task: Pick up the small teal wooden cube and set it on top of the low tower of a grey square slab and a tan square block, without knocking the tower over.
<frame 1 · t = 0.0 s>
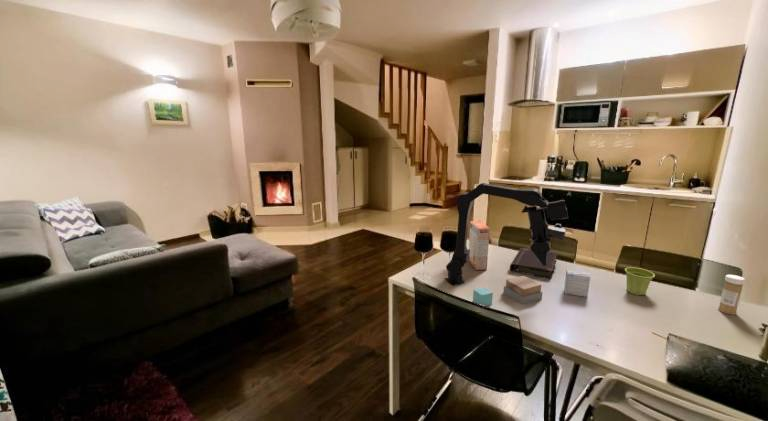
hand: (545, 261, 121), 15 cm above the table, tool pointing down, fingers open, 9 cm apart
diary: (534, 267, 156), on the table
teal cube: (482, 302, 122), on the table
sprinkles bottle: (726, 312, 113), on the table
medicine box: (575, 293, 128), on the table
grey square slab: (522, 296, 127), on the table, touching tan square block
cracker box: (477, 265, 158), on the table
tan square block: (523, 289, 126), point 3 cm above the table, touching grey square slab
plant pot: (635, 292, 128), on the table
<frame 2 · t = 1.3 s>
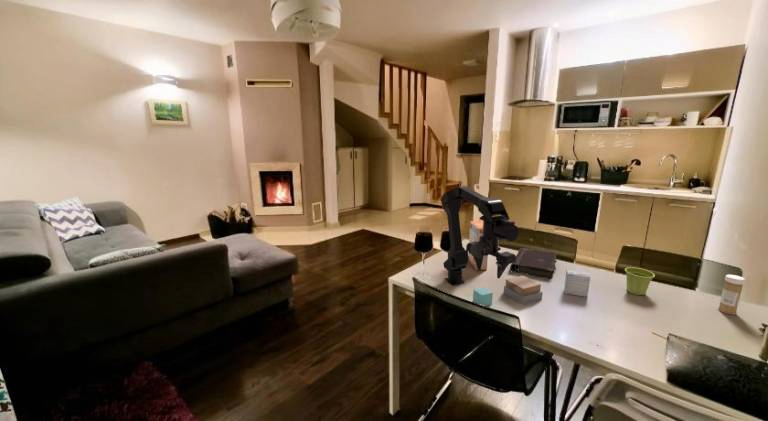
hand: (488, 273, 119), 12 cm above the table, tool pointing down, fingers open, 9 cm apart
nothing on the table moved.
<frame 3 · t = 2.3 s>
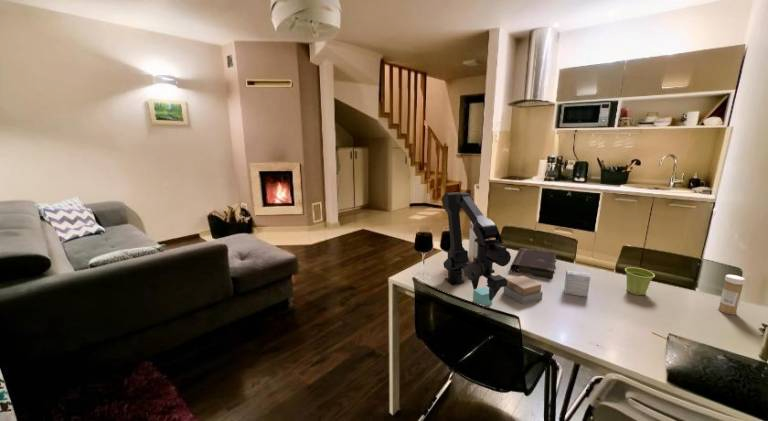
hand: (482, 294, 121), 3 cm above the table, tool pointing down, fingers open, 9 cm apart
nothing on the table moved.
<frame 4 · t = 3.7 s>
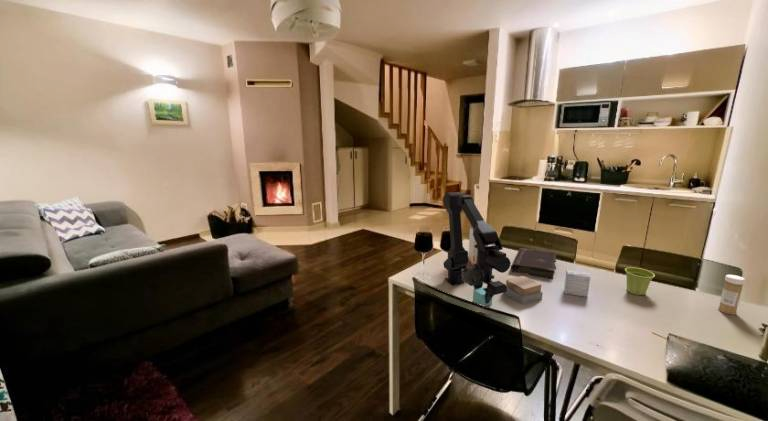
hand: (482, 300, 122), 1 cm above the table, tool pointing down, fingers closed on teal cube, 5 cm apart
teal cube: (482, 302, 122), on the table, touching gripper
everything else where it was.
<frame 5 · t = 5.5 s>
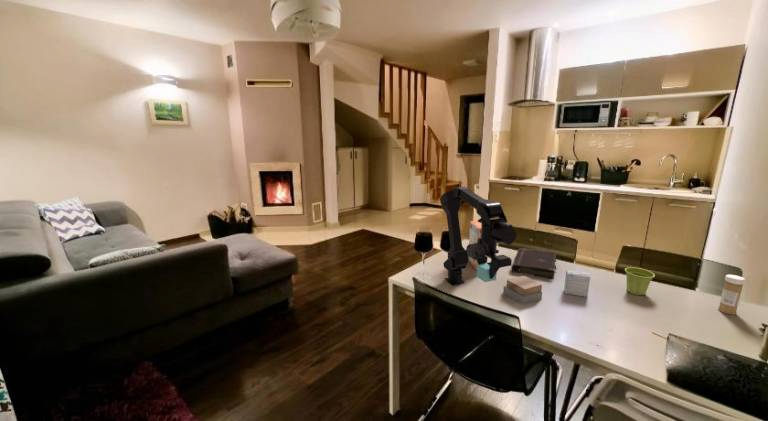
hand: (486, 275, 120), 11 cm above the table, tool pointing down, fingers closed on teal cube, 5 cm apart
teal cube: (486, 278, 120), point 10 cm above the table, touching gripper
everything else where it was.
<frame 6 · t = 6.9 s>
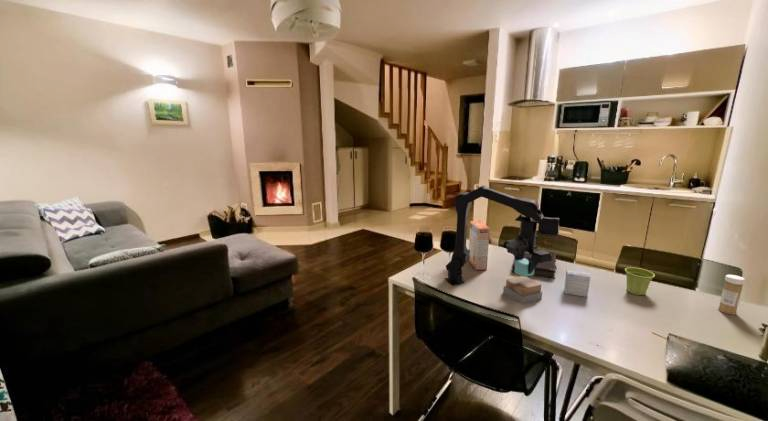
hand: (524, 270, 124), 11 cm above the table, tool pointing down, fingers closed on teal cube, 5 cm apart
teal cube: (524, 273, 125), point 10 cm above the table, touching gripper
everything else where it was.
when the fingers open (8 cm above the table, at t = 8.1 s): teal cube drops 2 cm, resting on tan square block.
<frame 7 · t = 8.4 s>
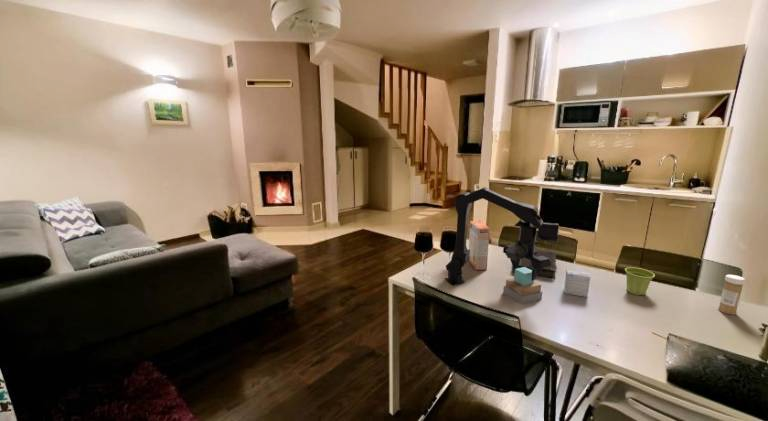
hand: (523, 276, 125), 8 cm above the table, tool pointing down, fingers open, 9 cm apart
teal cube: (523, 282, 125), point 6 cm above the table, touching tan square block
tan square block: (522, 288, 126), point 3 cm above the table, touching grey square slab, teal cube
everything else where it was.
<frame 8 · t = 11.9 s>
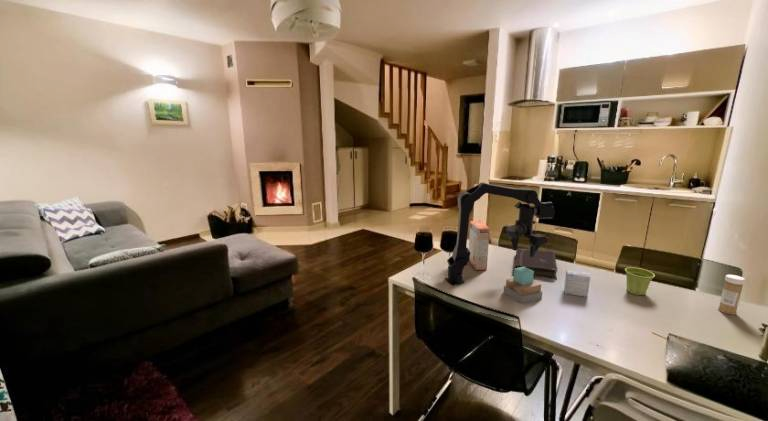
hand: (522, 253, 136), 13 cm above the table, tool pointing down, fingers open, 9 cm apart
at the end: teal cube 0.3 cm off-centre on the tan square block, point 3.0 cm above the tan square block's base; teal cube tilted 0°; tan square block 0.2 cm off-centre on the grey square slab, point 3.5 cm above the grey square slab's base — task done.
